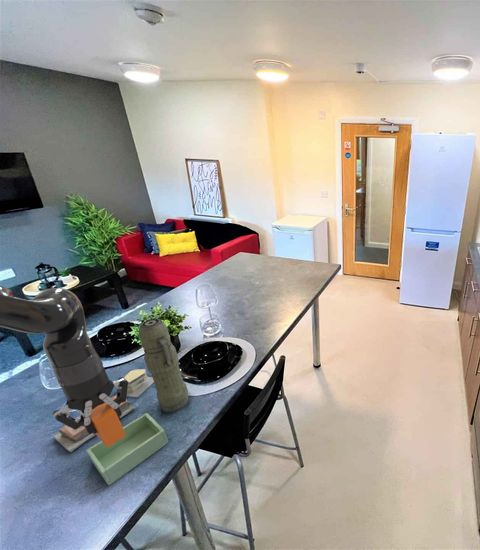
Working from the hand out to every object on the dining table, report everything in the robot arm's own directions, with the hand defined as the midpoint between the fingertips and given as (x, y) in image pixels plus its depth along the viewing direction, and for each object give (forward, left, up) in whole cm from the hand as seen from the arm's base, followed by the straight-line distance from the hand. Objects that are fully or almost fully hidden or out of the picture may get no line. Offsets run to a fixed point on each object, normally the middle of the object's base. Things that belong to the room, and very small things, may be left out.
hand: (105, 424), depth 73 cm
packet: (0, 0, -4) cm, 4 cm away
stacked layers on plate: (+17, +38, -23) cm, 47 cm away
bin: (+4, +9, -22) cm, 24 cm away
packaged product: (+2, +30, -23) cm, 37 cm away
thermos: (+21, +18, -23) cm, 35 cm away
